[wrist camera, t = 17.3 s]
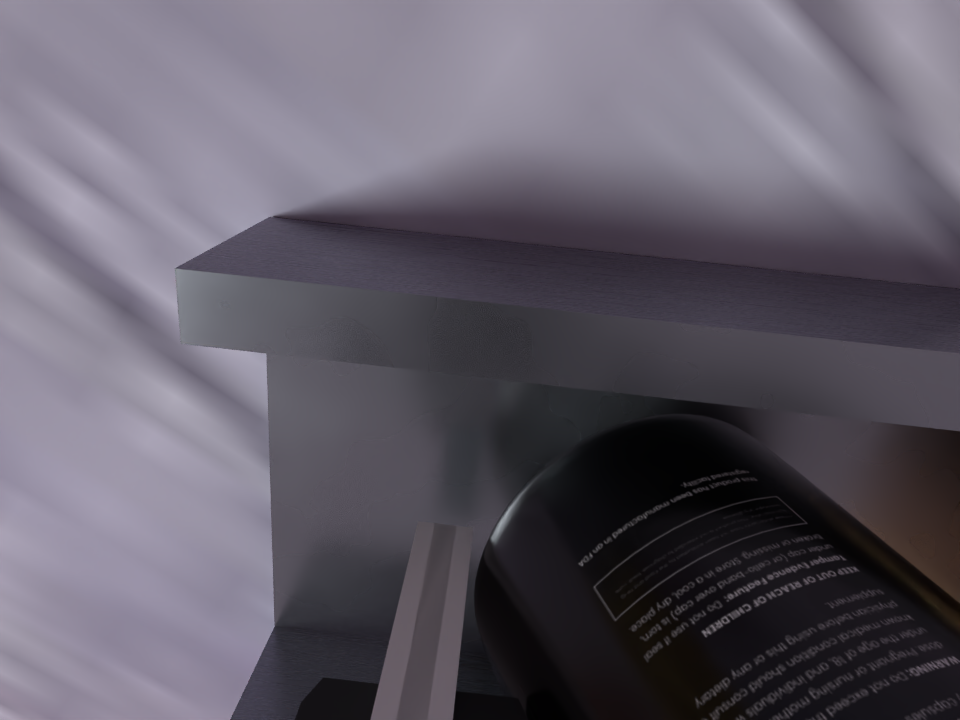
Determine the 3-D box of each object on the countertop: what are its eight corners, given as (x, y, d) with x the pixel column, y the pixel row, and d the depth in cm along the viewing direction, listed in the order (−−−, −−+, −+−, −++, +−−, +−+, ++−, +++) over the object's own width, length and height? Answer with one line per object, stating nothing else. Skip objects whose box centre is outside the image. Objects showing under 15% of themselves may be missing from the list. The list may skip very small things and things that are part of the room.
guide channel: (280, 650, 19) (171, 898, 13) (269, 217, 14) (96, 310, 9) (950, 736, 18) (1133, 1035, 12) (1154, 309, 14) (1579, 475, 8)
